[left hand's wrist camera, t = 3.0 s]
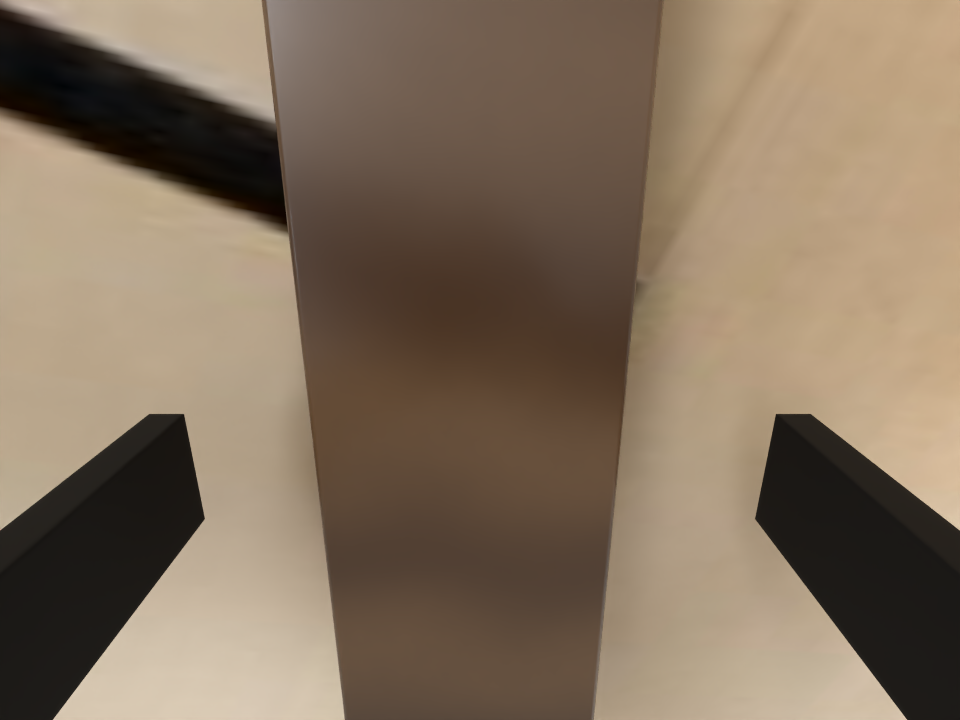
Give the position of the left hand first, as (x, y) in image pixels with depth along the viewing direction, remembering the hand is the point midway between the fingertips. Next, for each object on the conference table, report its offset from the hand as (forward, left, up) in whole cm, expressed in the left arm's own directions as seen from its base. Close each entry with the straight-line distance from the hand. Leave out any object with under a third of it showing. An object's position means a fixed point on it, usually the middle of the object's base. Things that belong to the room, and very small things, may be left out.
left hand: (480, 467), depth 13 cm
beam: (+16, +28, -4) cm, 33 cm away
